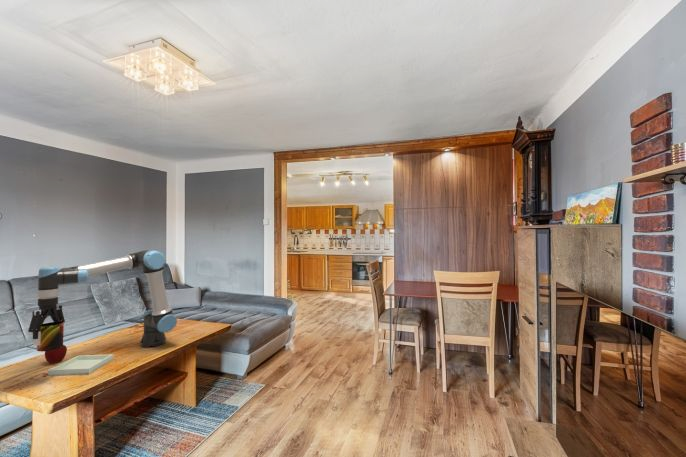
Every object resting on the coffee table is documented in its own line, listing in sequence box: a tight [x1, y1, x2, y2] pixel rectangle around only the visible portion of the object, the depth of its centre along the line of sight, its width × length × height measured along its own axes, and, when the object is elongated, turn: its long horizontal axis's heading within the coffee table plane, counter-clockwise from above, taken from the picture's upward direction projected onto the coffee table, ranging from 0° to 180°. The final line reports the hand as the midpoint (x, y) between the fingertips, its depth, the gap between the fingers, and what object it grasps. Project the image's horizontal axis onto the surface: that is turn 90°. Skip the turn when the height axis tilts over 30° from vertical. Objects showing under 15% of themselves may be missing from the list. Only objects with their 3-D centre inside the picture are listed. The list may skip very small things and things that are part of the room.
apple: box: [44, 344, 68, 364], centre depth 178 cm, size 10×10×10 cm
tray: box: [47, 354, 115, 377], centre depth 171 cm, size 20×20×3 cm
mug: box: [36, 321, 65, 352], centre depth 156 cm, size 10×14×12 cm
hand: (47, 341), depth 156 cm, fingers closed on mug, 10 cm apart
